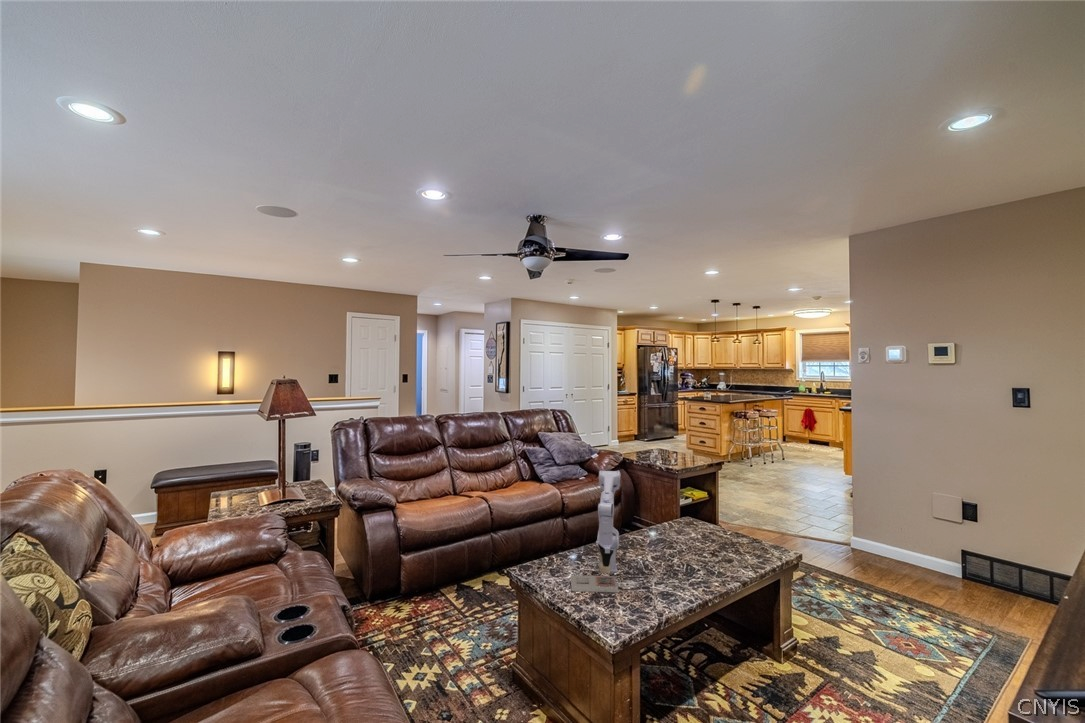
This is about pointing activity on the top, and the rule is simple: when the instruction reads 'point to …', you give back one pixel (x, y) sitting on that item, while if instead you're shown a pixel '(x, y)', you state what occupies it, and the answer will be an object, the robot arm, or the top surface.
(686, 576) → the top surface
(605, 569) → the peg
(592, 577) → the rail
